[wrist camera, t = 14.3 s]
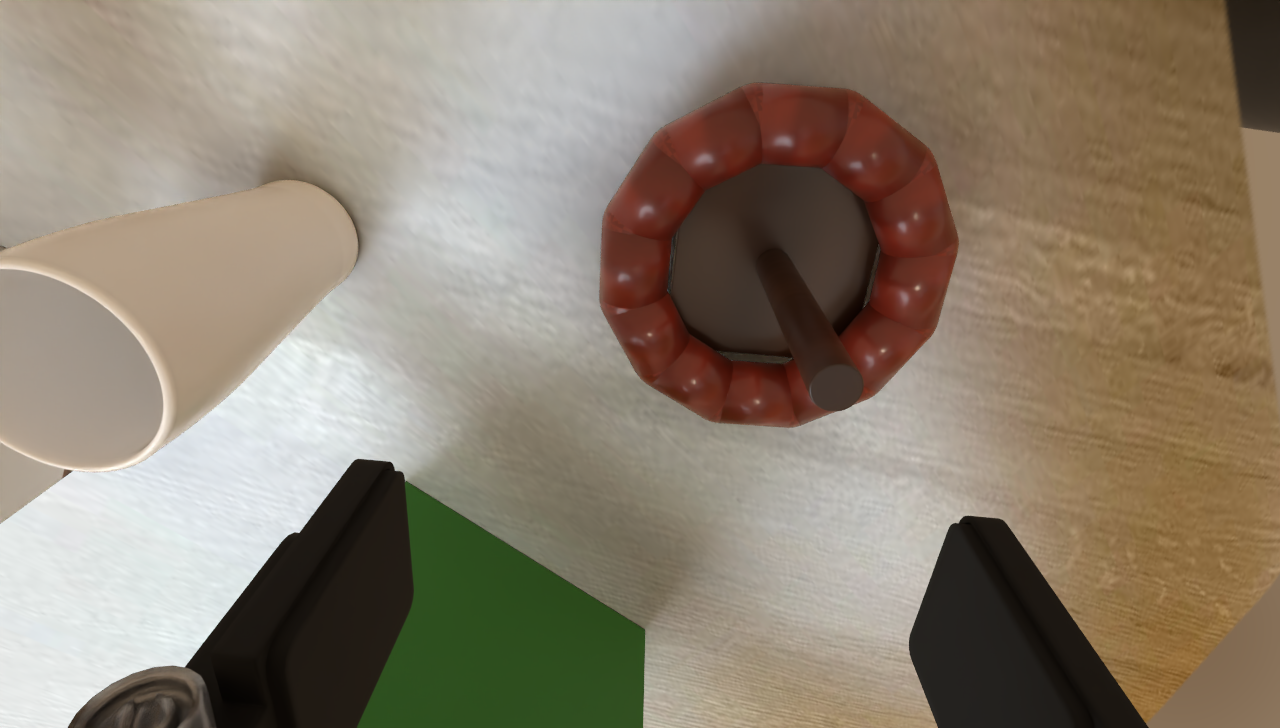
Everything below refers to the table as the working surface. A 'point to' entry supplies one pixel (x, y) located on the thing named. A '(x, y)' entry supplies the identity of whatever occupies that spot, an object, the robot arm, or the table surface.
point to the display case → (23, 478)
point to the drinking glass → (156, 317)
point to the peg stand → (778, 273)
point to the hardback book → (501, 640)
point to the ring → (791, 136)
